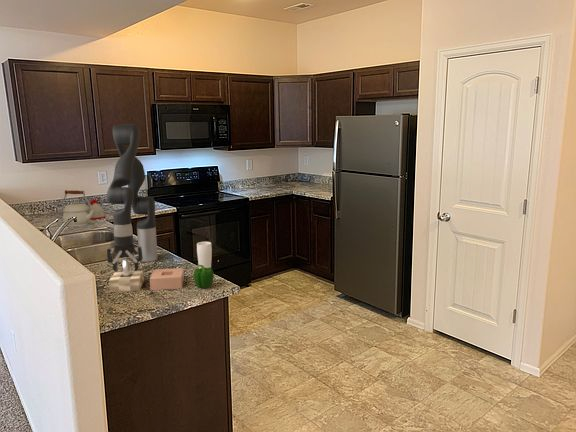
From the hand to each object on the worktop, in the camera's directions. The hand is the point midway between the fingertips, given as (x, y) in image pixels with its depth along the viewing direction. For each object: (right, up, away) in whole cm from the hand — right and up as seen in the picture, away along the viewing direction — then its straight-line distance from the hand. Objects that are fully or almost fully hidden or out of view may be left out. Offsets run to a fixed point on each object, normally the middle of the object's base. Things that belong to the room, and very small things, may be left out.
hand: (126, 271), depth 191 cm
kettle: (-81, +17, +129) cm, 153 cm away
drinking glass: (+31, -4, +17) cm, 36 cm away
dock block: (+17, -6, +4) cm, 18 cm away
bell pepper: (+34, -7, +1) cm, 34 cm away
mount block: (0, -7, +1) cm, 7 cm away
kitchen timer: (-79, +22, +153) cm, 174 cm away
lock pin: (0, -7, +1) cm, 7 cm away
